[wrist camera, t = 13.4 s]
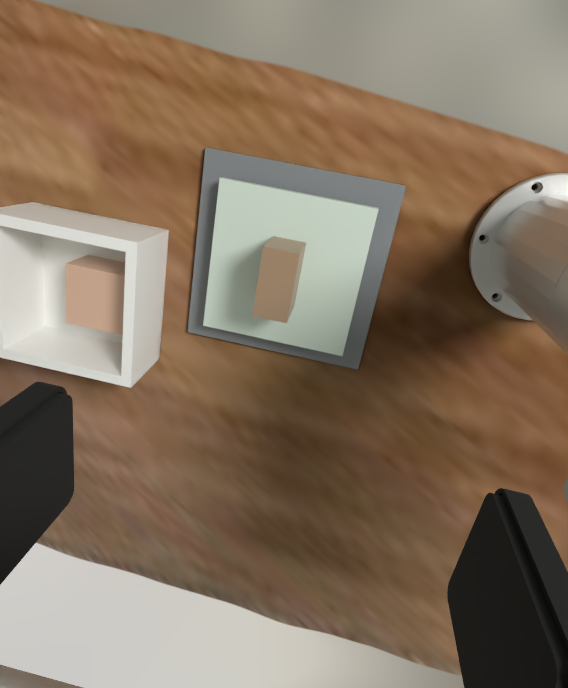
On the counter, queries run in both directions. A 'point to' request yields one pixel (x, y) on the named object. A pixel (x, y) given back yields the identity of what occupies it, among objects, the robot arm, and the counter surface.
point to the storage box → (81, 292)
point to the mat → (306, 182)
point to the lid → (286, 265)
